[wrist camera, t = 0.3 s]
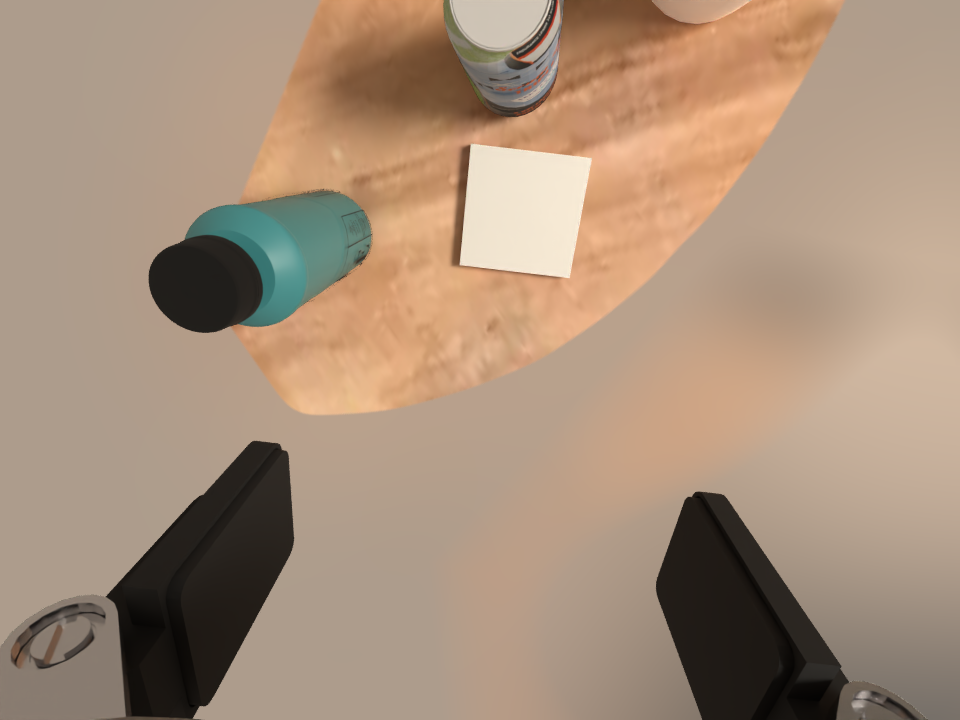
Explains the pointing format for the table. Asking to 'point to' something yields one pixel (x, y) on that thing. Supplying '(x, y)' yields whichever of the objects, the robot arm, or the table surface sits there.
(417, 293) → the table surface
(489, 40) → the beverage can
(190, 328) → the beverage bottle
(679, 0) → the cylinder with rectangular tab
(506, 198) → the coaster
